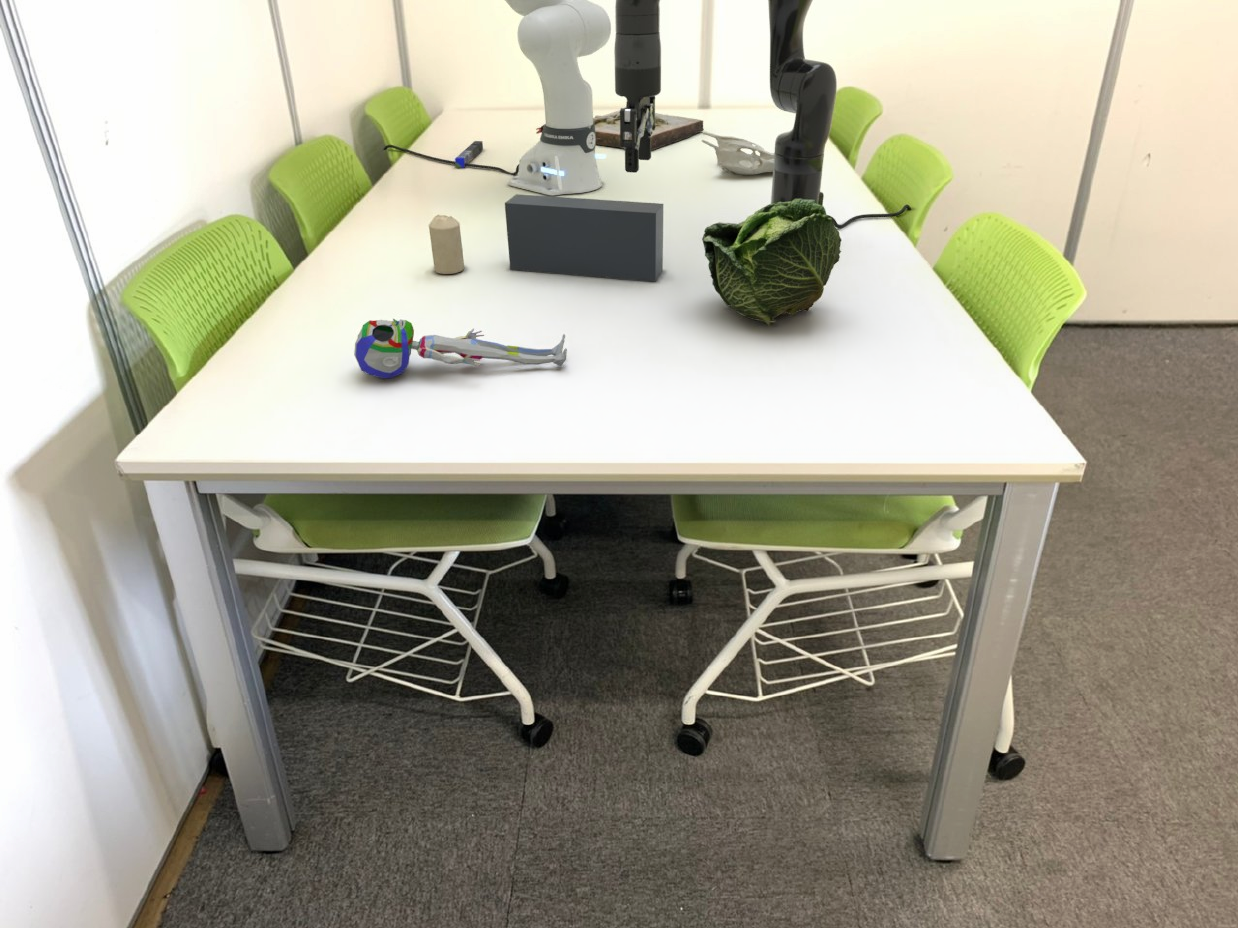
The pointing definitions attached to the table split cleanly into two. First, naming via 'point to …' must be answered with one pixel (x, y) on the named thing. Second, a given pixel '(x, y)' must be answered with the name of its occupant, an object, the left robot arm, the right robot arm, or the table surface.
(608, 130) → the plaque
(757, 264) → the vegetable
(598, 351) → the table surface
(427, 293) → the table surface
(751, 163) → the anatomical model
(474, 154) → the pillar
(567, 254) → the box
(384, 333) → the toy
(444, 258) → the candle
